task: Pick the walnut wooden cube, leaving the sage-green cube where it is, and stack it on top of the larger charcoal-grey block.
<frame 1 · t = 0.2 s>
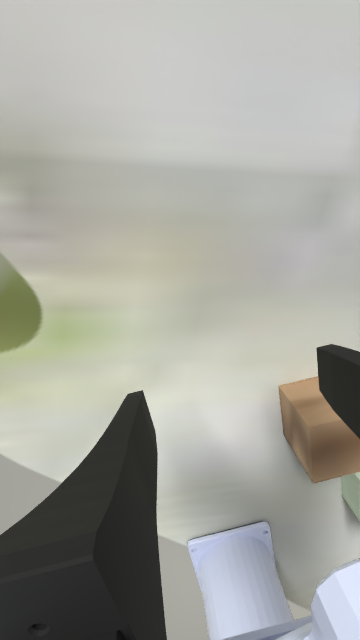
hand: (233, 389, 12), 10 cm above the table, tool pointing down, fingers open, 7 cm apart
walnut cube: (309, 403, 25), on the table
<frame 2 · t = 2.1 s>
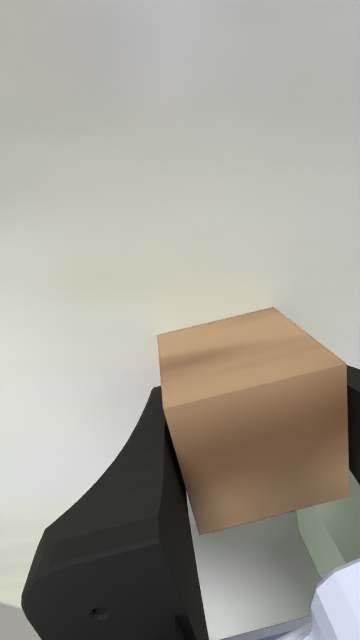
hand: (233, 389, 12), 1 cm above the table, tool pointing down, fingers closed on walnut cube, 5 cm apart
walnut cube: (225, 372, 14), on the table, touching gripper
sage cube: (337, 487, 17), on the table
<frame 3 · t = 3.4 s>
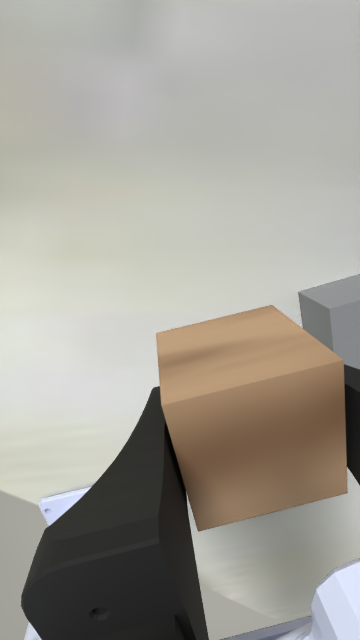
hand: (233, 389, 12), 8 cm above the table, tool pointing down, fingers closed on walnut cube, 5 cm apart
walnut cube: (223, 369, 14), point 7 cm above the table, touching gripper
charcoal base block: (356, 327, 22), on the table
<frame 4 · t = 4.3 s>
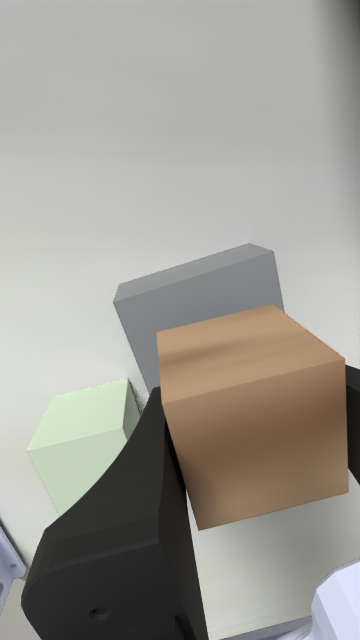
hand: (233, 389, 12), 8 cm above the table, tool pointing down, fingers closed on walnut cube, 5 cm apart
walnut cube: (224, 369, 14), point 6 cm above the table, touching gripper
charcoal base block: (200, 322, 20), on the table
sage cube: (102, 416, 21), on the table
when the fingers open (6 cm above the table, at t = 5.0 s): walnut cube drops 1 cm, point 4 cm above the table.
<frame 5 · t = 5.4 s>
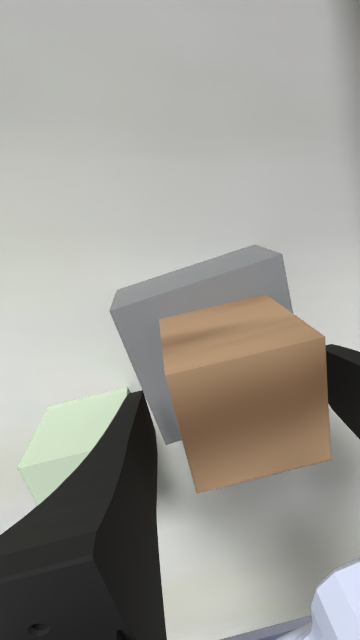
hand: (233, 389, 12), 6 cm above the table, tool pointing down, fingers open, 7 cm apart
walnut cube: (221, 354, 15), point 4 cm above the table
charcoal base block: (203, 328, 19), on the table
sage cube: (100, 427, 20), on the table
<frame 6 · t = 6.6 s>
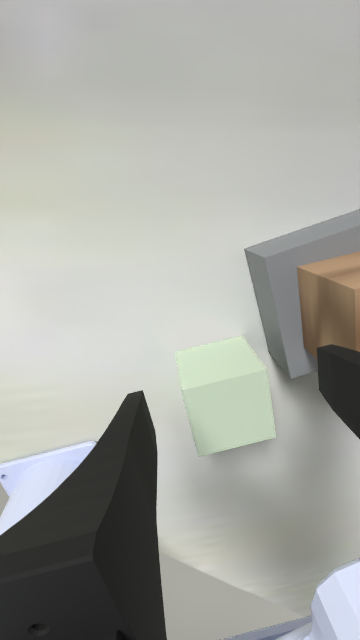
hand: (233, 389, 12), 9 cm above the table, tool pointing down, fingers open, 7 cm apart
walnut cube: (342, 298, 18), point 4 cm above the table, touching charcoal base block
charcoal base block: (310, 284, 21), on the table, touching walnut cube
sage cube: (214, 372, 23), on the table
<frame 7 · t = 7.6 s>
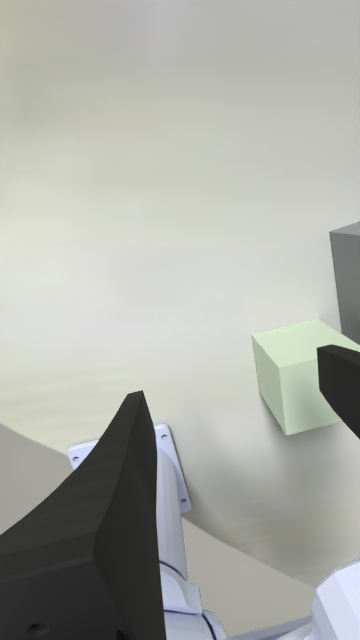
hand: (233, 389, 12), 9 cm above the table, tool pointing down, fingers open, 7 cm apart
sage cube: (287, 356, 23), on the table
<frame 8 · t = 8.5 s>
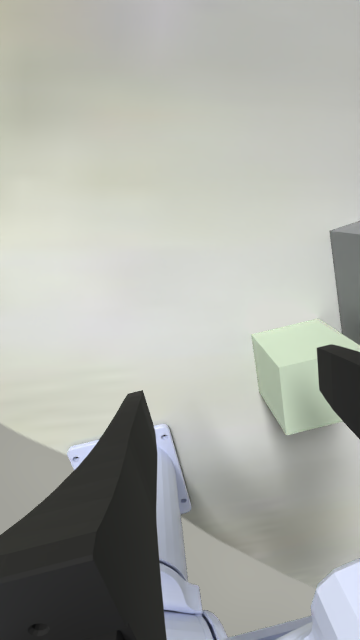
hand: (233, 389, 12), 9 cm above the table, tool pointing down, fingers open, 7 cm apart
sage cube: (287, 356, 23), on the table
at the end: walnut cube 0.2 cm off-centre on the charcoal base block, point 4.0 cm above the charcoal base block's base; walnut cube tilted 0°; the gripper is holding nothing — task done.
